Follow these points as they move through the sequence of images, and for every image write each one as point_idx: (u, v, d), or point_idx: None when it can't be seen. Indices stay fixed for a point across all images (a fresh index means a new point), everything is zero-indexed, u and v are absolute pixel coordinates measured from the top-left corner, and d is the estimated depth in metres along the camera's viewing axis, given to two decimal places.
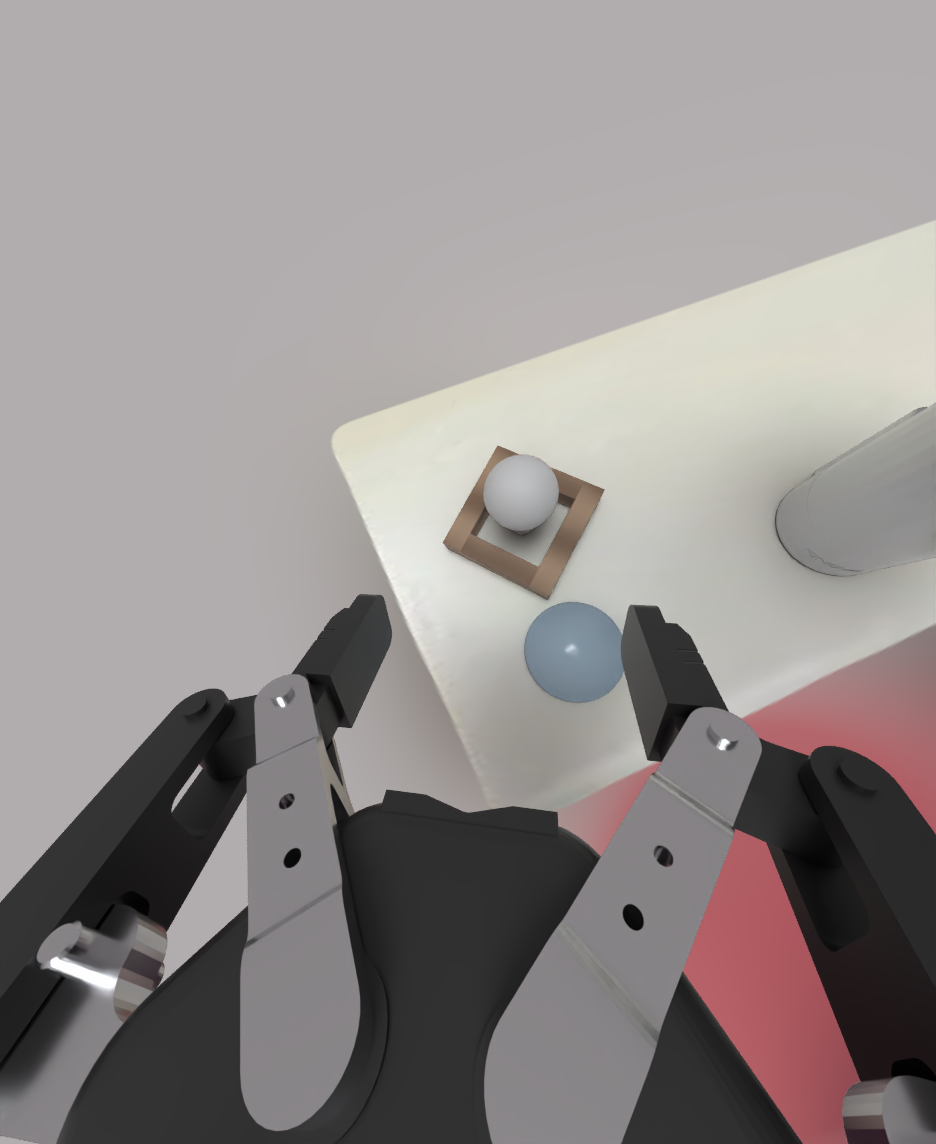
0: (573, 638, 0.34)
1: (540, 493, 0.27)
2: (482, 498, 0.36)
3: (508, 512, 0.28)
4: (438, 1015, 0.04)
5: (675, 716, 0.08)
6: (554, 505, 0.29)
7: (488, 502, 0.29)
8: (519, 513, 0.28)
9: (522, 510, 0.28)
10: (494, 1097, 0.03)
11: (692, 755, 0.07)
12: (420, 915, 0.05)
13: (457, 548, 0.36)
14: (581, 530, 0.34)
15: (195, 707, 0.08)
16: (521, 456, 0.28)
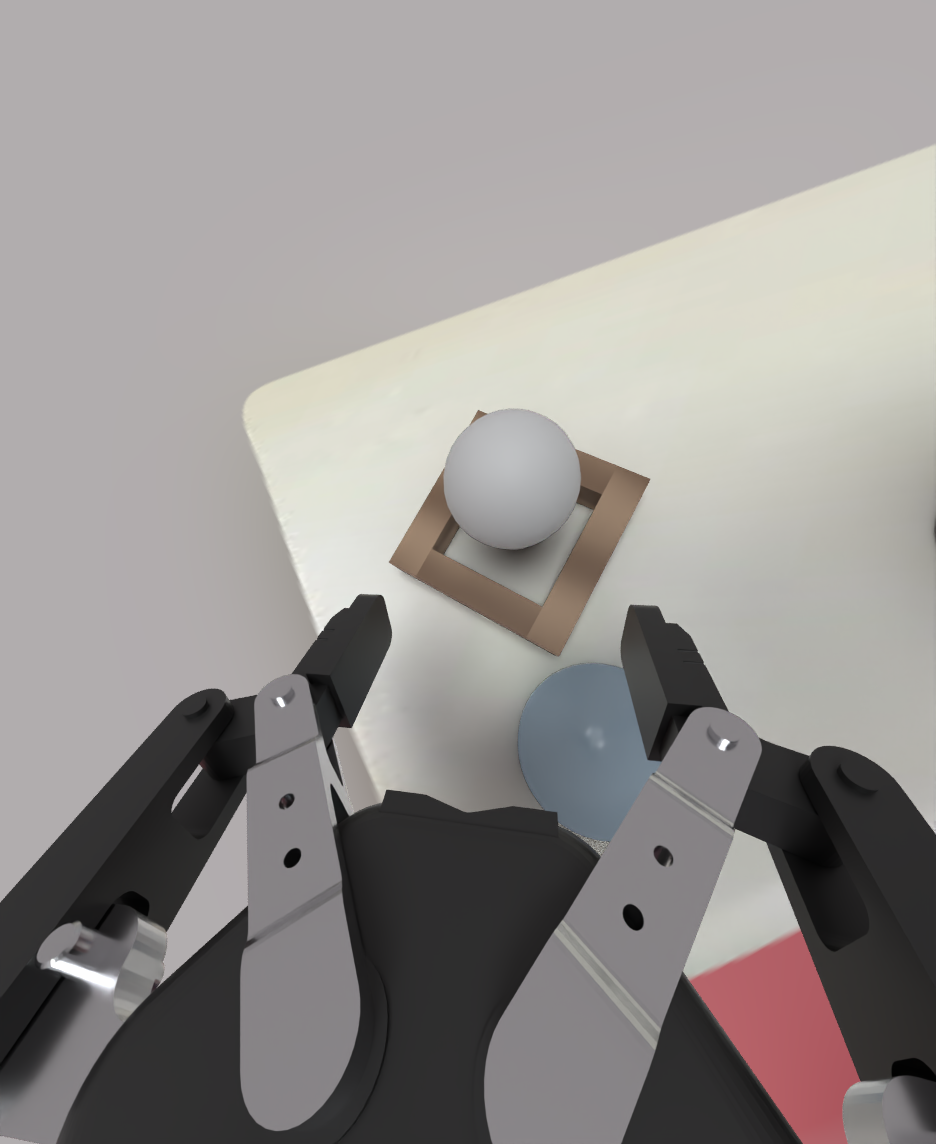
0: (599, 726, 0.20)
1: (547, 479, 0.14)
2: None
3: (485, 516, 0.14)
4: (438, 1015, 0.04)
5: (675, 716, 0.08)
6: (573, 504, 0.15)
7: (449, 497, 0.15)
8: (506, 519, 0.14)
9: (512, 513, 0.14)
10: (494, 1097, 0.03)
11: (692, 755, 0.07)
12: (420, 915, 0.05)
13: (411, 572, 0.22)
14: (612, 546, 0.21)
15: (194, 706, 0.08)
16: (511, 410, 0.15)
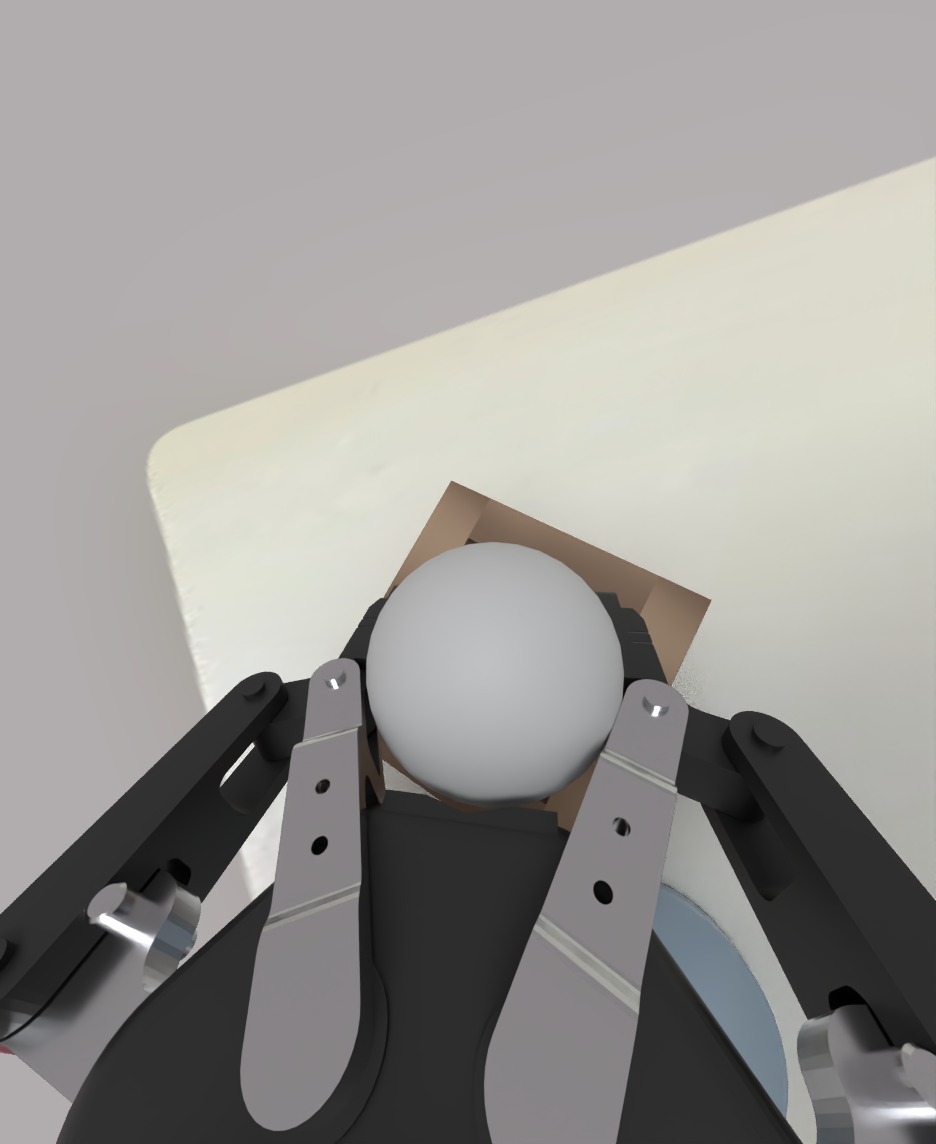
0: None
1: (564, 736, 0.06)
2: None
3: (436, 785, 0.07)
4: (437, 1014, 0.04)
5: None
6: None
7: (373, 716, 0.08)
8: (478, 798, 0.07)
9: (490, 793, 0.07)
10: (497, 1118, 0.03)
11: (625, 719, 0.07)
12: (420, 916, 0.05)
13: None
14: None
15: (253, 688, 0.09)
16: (490, 561, 0.07)
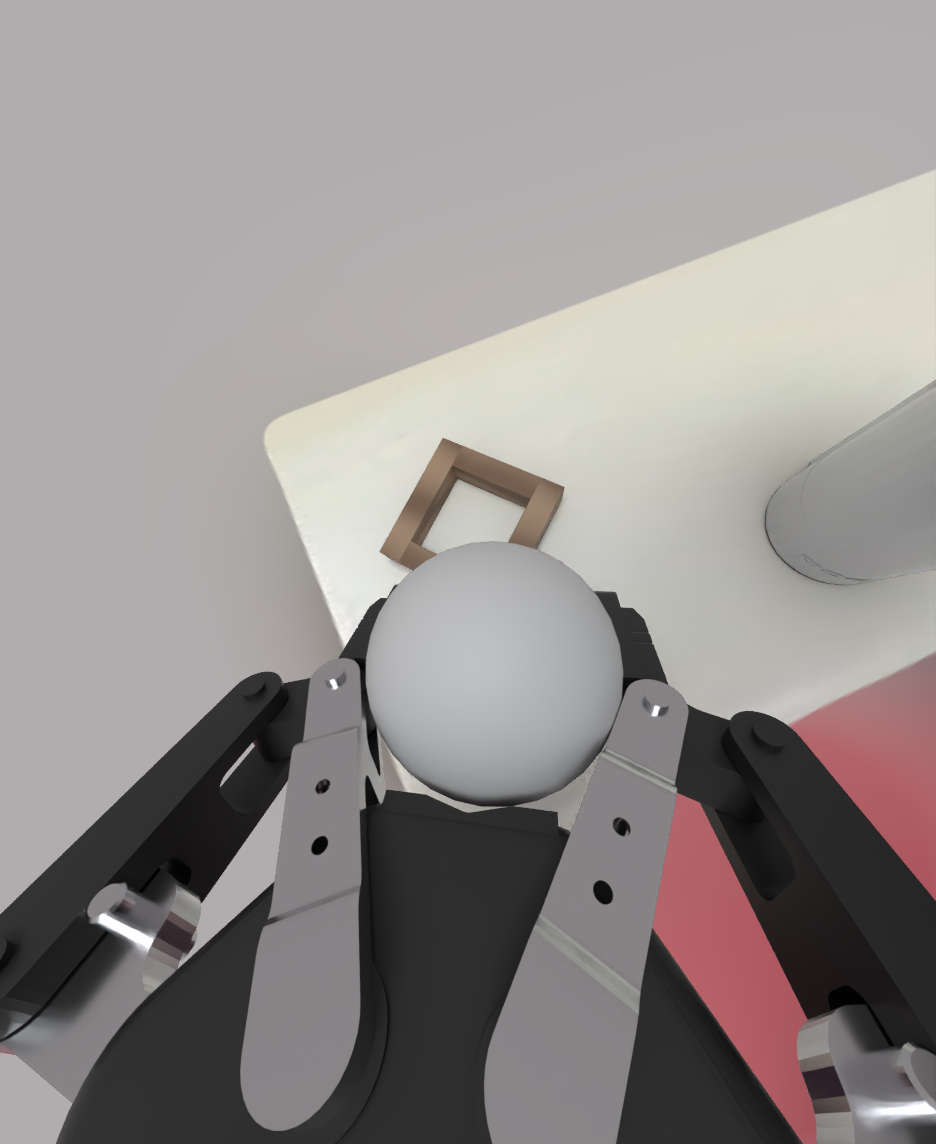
0: None
1: (564, 735, 0.06)
2: (424, 499, 0.31)
3: (436, 785, 0.07)
4: (437, 1015, 0.04)
5: None
6: (609, 732, 0.08)
7: (373, 715, 0.08)
8: (478, 797, 0.07)
9: (489, 793, 0.07)
10: (497, 1118, 0.03)
11: (625, 719, 0.07)
12: (420, 916, 0.05)
13: (395, 558, 0.31)
14: (537, 535, 0.29)
15: (253, 688, 0.09)
16: (490, 560, 0.07)
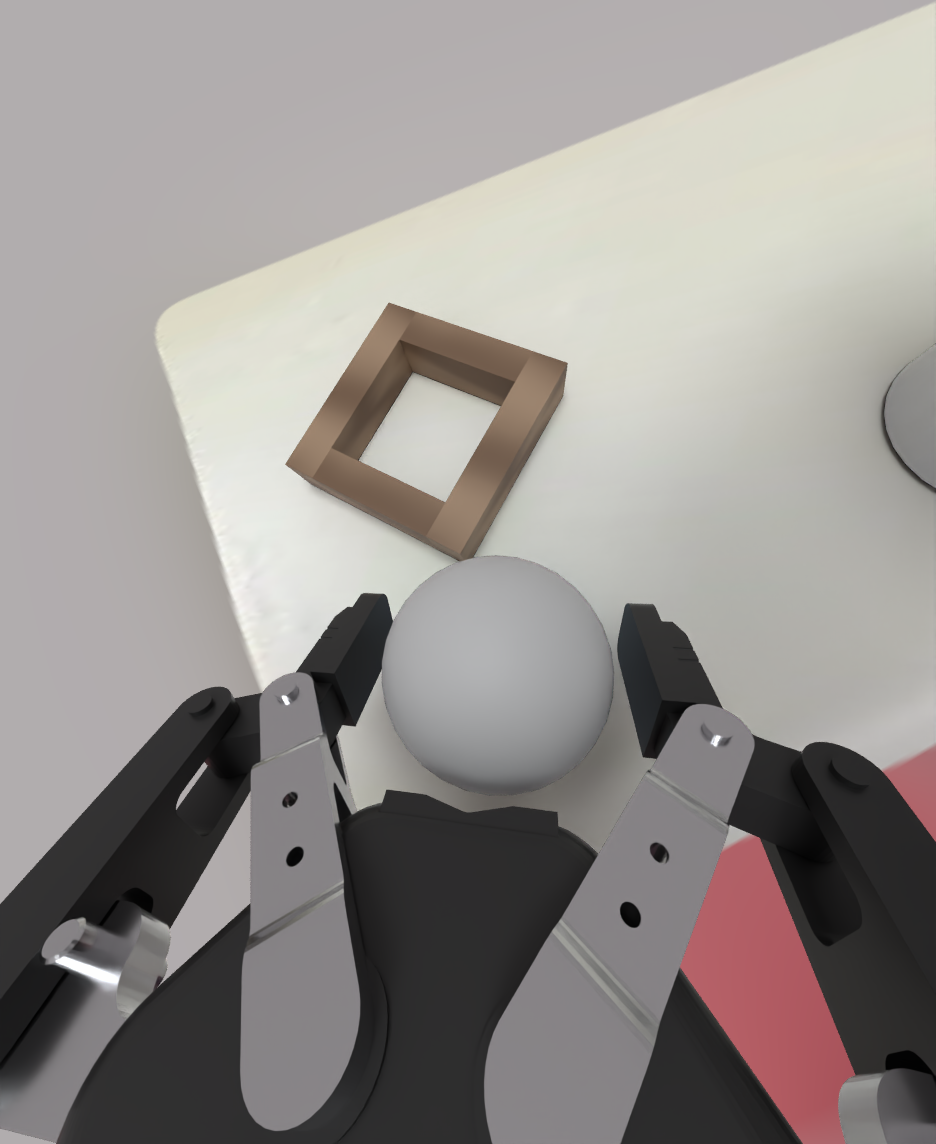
0: None
1: (561, 728, 0.07)
2: (357, 388, 0.21)
3: (447, 775, 0.08)
4: (438, 1015, 0.04)
5: (670, 713, 0.08)
6: (602, 727, 0.09)
7: (389, 714, 0.09)
8: (485, 786, 0.08)
9: (495, 781, 0.08)
10: (494, 1099, 0.03)
11: (685, 751, 0.07)
12: (420, 915, 0.05)
13: (308, 473, 0.20)
14: (523, 434, 0.18)
15: (200, 704, 0.08)
16: (494, 574, 0.08)
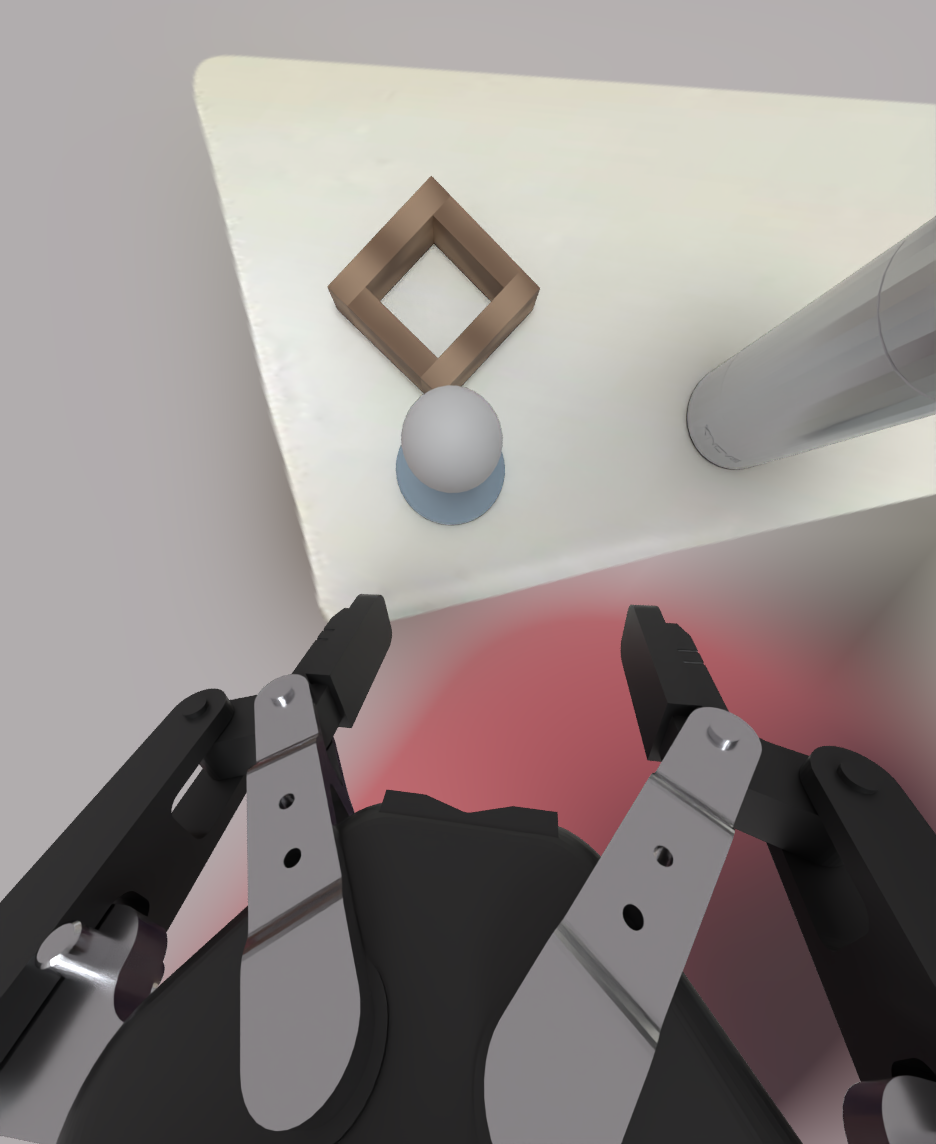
0: None
1: (474, 455, 0.20)
2: (392, 244, 0.27)
3: (427, 467, 0.20)
4: (438, 1014, 0.04)
5: (675, 716, 0.08)
6: (489, 473, 0.22)
7: (405, 442, 0.21)
8: (440, 473, 0.20)
9: (445, 471, 0.20)
10: (494, 1097, 0.03)
11: (692, 755, 0.07)
12: (420, 915, 0.05)
13: (344, 301, 0.27)
14: (498, 329, 0.28)
15: (194, 706, 0.08)
16: (465, 392, 0.20)
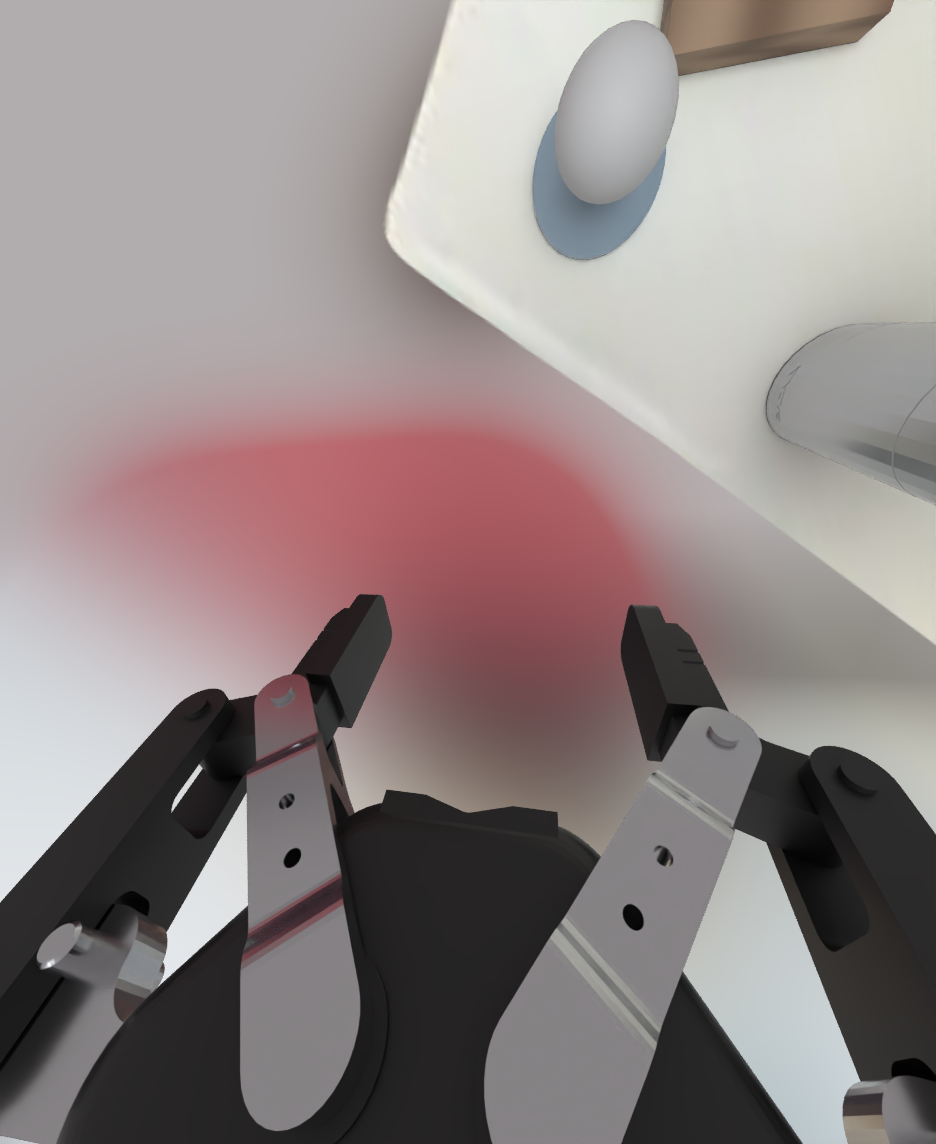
0: None
1: (610, 156, 0.19)
2: None
3: (568, 124, 0.19)
4: (437, 1014, 0.04)
5: (675, 716, 0.08)
6: (608, 198, 0.21)
7: (574, 69, 0.18)
8: (572, 146, 0.19)
9: (577, 147, 0.19)
10: (494, 1097, 0.03)
11: (692, 755, 0.07)
12: (420, 915, 0.05)
13: None
14: (796, 26, 0.21)
15: (194, 707, 0.08)
16: (667, 65, 0.17)
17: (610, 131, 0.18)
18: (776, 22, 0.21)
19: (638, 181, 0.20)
